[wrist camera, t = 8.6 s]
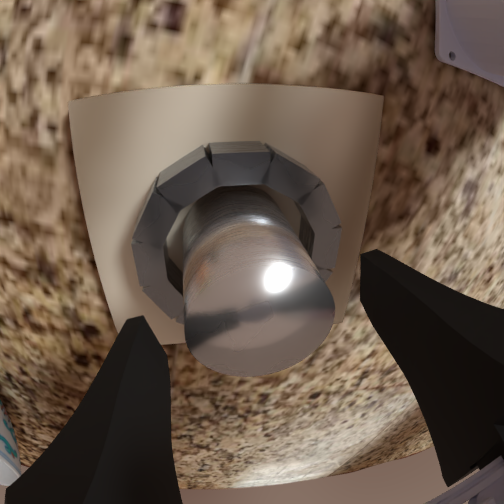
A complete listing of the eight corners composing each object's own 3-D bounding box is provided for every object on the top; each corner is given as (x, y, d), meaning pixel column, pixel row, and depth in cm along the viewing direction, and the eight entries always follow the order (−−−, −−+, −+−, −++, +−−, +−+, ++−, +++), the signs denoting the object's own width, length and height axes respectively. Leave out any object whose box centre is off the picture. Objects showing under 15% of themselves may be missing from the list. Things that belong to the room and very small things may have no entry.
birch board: (372, 93, 13) (384, 95, 12) (336, 311, 20) (342, 322, 19) (75, 99, 11) (67, 102, 10) (124, 334, 18) (122, 346, 17)
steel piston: (269, 169, 13) (324, 242, 8) (293, 255, 16) (341, 348, 10) (166, 206, 13) (156, 300, 8) (204, 286, 16) (217, 390, 11)
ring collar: (333, 141, 13) (352, 152, 11) (312, 298, 17) (324, 320, 16) (127, 149, 11) (118, 162, 10) (154, 314, 16) (153, 340, 14)
